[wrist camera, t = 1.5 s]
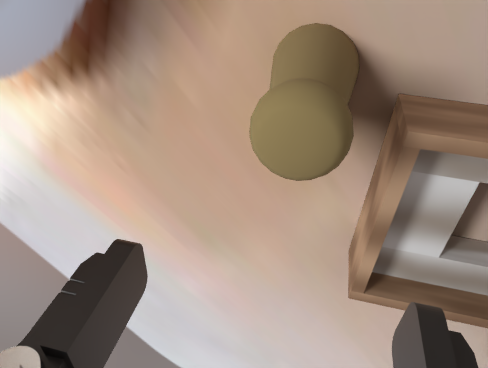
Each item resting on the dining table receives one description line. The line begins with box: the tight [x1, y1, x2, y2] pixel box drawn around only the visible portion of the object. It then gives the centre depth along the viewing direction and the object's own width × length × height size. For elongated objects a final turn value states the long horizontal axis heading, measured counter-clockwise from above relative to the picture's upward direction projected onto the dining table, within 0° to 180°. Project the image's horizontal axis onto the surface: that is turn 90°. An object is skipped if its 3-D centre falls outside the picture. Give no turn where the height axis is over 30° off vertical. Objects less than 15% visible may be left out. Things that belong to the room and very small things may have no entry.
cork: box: [249, 23, 359, 181], centre depth 22 cm, size 6×6×11 cm
